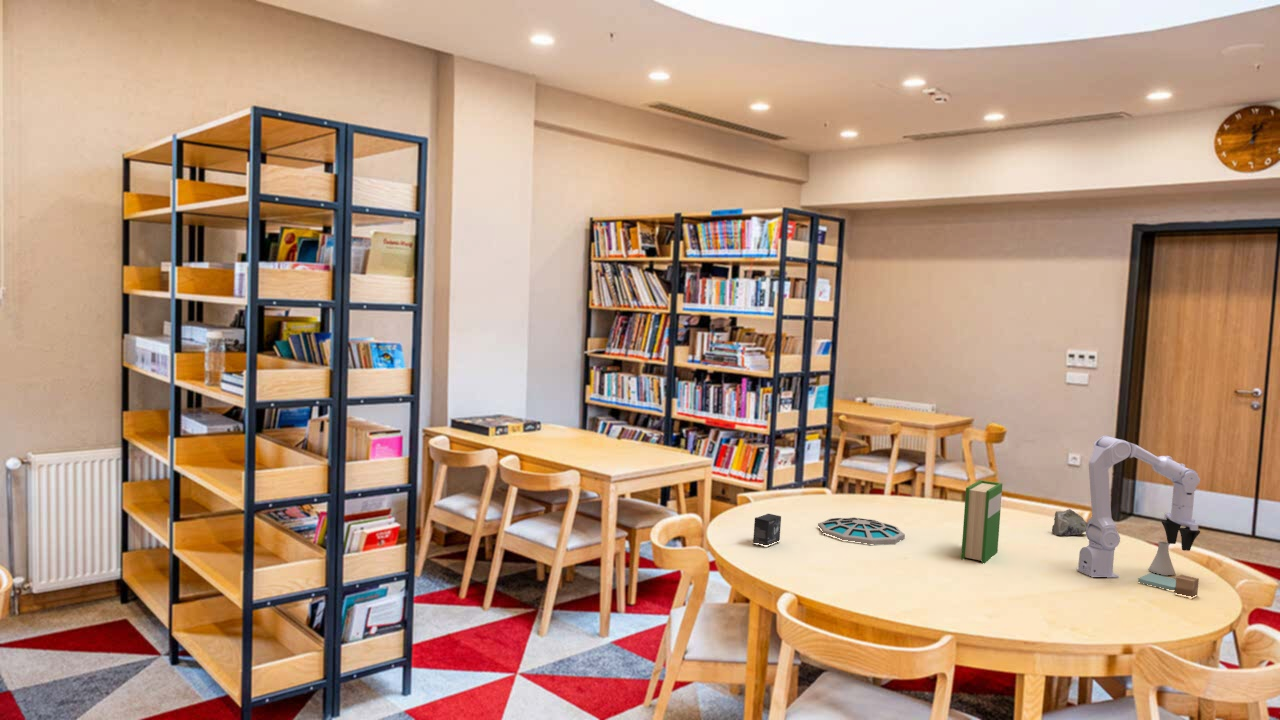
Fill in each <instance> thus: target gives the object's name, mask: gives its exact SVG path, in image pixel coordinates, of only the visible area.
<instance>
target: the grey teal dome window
mask: <svg viewBox="0 0 1280 720" xmlns="http://www.w3.org/2000/svg"><path fill="white" fill-rule="evenodd" d="M818 526H819V527H820V528H821V529H822V531H823V533H826V534H829V535H832V536H835V537H837V538H840V539H842V540H848V541H855V542H861V543H867V544H884V545H896V544H897V543H899V542H901V541H902V539H903V540H905V539H906V535H905V534H906V533H904V532H903V531H901V530H900V528H899V527H897V526H895V525H892V524H888V523H886V522H880V521H877V520H876V519H871V518H870V519H869V518H860V517H855V516H853V517H835V518H832V517H831V518H828V519H827V520H824V521H821V522H818V523H817V527H818ZM900 540H901V541H900ZM898 541H899V542H898ZM895 543H896V544H895Z"/></svg>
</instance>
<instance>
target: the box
mask: <svg viewBox="0 0 1280 720" xmlns="http://www.w3.org/2000/svg"><path fill="white" fill-rule="evenodd" d="M781 524H782V515H777V514H772V513H766V514H764V515H760V516H757V517H754V524H753V525H754V526H753V540H752V541H753V542H752V544H753V543H759V544H763V545H769V544H772V543H774V542H777V541H779V540H781V526H782V525H781Z"/></svg>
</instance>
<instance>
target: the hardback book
mask: <svg viewBox="0 0 1280 720" xmlns="http://www.w3.org/2000/svg"><path fill="white" fill-rule="evenodd" d="M1002 492H1003V482H1002V483H1001V482H994V481H988V480H981V479H980V480H978V481H976V482H973V483H972V484H970V485H968V486H966V487H965V497H964V499H965V500H964V509H963V510H964V512H963V513H964V514H963V515H964V516H963V527H962V528H963V529H962V540H961V541H962V542H961V544H962V545H961V556H960V557H961V558H960V559H961V560H963V559H964V560H966V559H972V560H978V561H981V564H983V563H984V564H986V563H987V562H988V561H989V560H990V559H992V558H993V557H994V556H995V555H996V554H997V553H999V552H998V551H999V549H998V547H999V536H1000V523H1001V521H1000V520H1001V509H1002V495H1003V493H1002ZM992 556H993V557H992ZM991 557H992V558H991Z"/></svg>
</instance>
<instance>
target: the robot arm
mask: <svg viewBox="0 0 1280 720" xmlns="http://www.w3.org/2000/svg"><path fill="white" fill-rule="evenodd" d="M1089 457H1090V458H1089V460H1088V474H1089V475H1088V476H1089V490H1090V504H1091V517H1089V518H1088V519H1087V523H1088V526H1087V528H1086V532H1085V536H1086V538H1087V539H1088V544H1087V546H1084V547H1082V548H1081V549H1080V550H1079V554H1078V556H1079V557H1078V568H1076V569H1075V570H1076V571H1077V570H1078V571H1077V572H1080V573H1082V574H1084V575H1086V576H1088V575H1089V576H1088V577H1090V576H1091V577H1090V578H1093V577H1107V578H1119V577H1120V576H1119V574H1116V573H1114V560H1115V550H1116V548H1117V547H1118V546H1119V545H1120V543H1121V536H1120V534H1119V532H1118V530H1117V525H1116V523H1115V522H1114V520H1113V518H1112V507H1111V505H1112V504H1111V493H1110V491H1111V489H1110V477H1109V475H1110V474H1109V469H1110V468H1111V467H1113V466H1114V465H1116V464H1118V463H1120V462H1122V461H1124V460H1126V459H1127V458H1129V459H1132V458H1136V459H1138V460H1140V461H1142V462H1143V463H1146V464H1149V465H1150V466H1151V467H1152V470H1153V472H1155V473H1157V474H1159V475H1161V476H1163V477H1165V478H1167V479H1169V480H1170V481H1171V482H1172V483H1173V488H1172V490H1173V491H1172V497H1171V499H1172V500H1171V510H1170V512H1169V513H1168V512H1165V513H1164V519H1165V520H1161V524H1162V526H1163V528H1164V532H1165V535H1166V542H1168V543H1170V545H1176V543H1177V540H1178V534H1180V538H1181V550H1182V551H1186V552H1187V551H1188V552H1190V551H1191V549H1192V546H1193V544H1194V542H1195V541H1196V539H1197V537H1198V536H1199V535H1200V534H1201V530H1199V524H1198V523H1196V519H1195V518H1193V511H1194V498H1195V492H1196V489H1197V486H1199V484H1200V482H1201V478H1200V477H1199V474H1198V472H1197V471H1196V470H1194V469H1191V468H1187V467H1186V464H1184V463H1181V462H1180V463H1178V462H1177V461H1175V460H1173V457H1171V456H1170V455H1160V456H1156V455H1155V454H1153V453H1151V452H1150V451H1148V450H1146V449H1145V448H1143V447H1141V446H1139V445H1137V444H1136V443H1132V442H1129V441H1126V440H1124V439H1119V438H1115V437H1112V436H1110V435H1103V436H1100V437H1099V438H1098V439H1097V440H1095V442H1093V450H1092V452H1091V456H1089ZM1182 526H1183V527H1182Z"/></svg>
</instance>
